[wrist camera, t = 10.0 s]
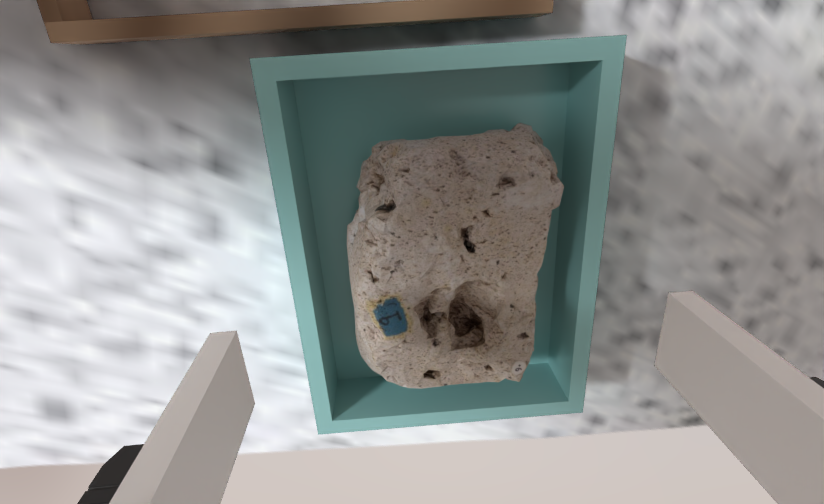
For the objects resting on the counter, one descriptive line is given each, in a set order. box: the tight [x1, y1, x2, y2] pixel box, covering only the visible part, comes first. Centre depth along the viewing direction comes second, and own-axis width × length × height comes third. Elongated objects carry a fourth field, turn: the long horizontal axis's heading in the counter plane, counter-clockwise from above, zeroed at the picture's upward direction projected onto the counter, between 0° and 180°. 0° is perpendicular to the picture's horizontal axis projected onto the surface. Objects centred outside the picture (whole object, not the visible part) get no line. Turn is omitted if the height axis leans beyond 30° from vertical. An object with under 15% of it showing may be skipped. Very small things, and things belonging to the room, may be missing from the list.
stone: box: [347, 123, 564, 389], centre depth 21 cm, size 13×6×10 cm
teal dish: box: [249, 35, 627, 434], centre depth 22 cm, size 14×18×4 cm
